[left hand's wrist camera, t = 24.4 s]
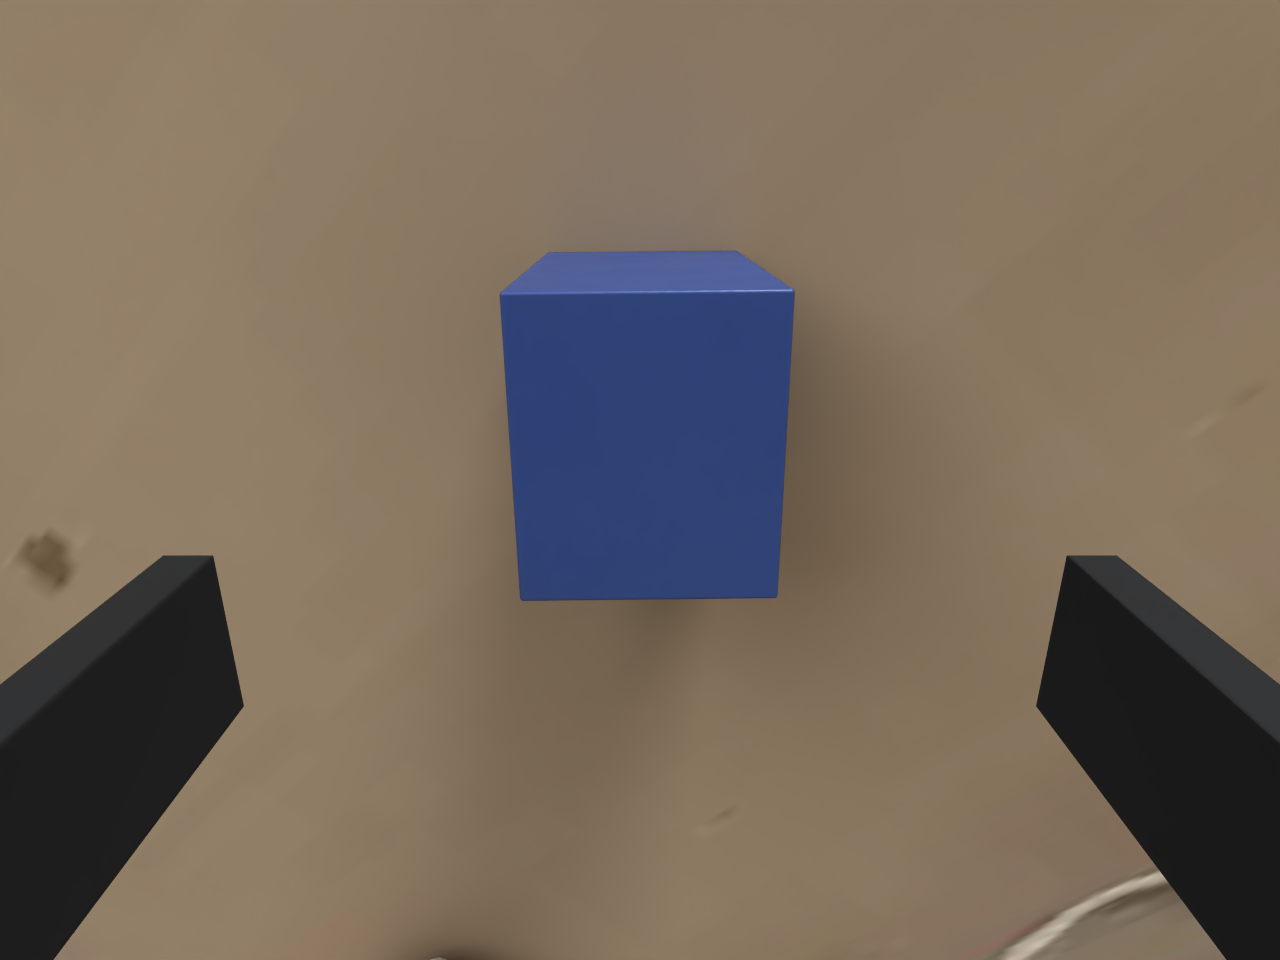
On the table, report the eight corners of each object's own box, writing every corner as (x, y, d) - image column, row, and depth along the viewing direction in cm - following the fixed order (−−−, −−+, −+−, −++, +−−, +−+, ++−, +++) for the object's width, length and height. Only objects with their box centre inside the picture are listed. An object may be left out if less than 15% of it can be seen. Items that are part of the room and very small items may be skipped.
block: (730, 463, 27) (777, 599, 19) (557, 465, 27) (519, 602, 18) (738, 250, 25) (795, 289, 16) (547, 252, 25) (499, 291, 16)
